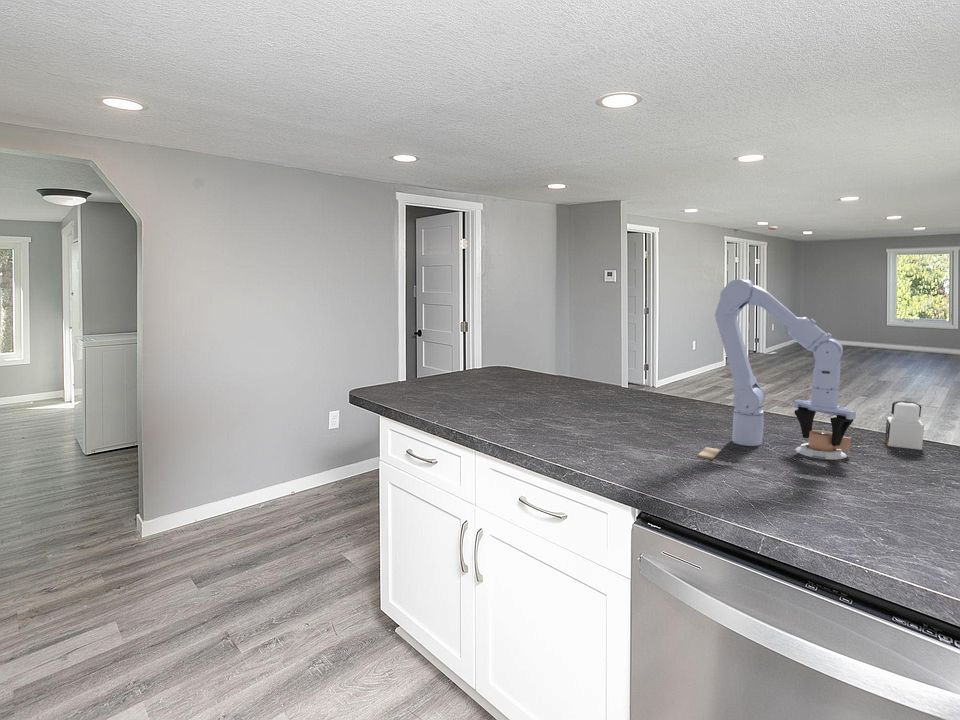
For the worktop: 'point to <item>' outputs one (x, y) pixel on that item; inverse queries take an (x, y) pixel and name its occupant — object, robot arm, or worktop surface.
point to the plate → (820, 453)
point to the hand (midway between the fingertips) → (820, 441)
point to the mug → (826, 441)
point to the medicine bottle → (905, 426)
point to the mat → (709, 453)
